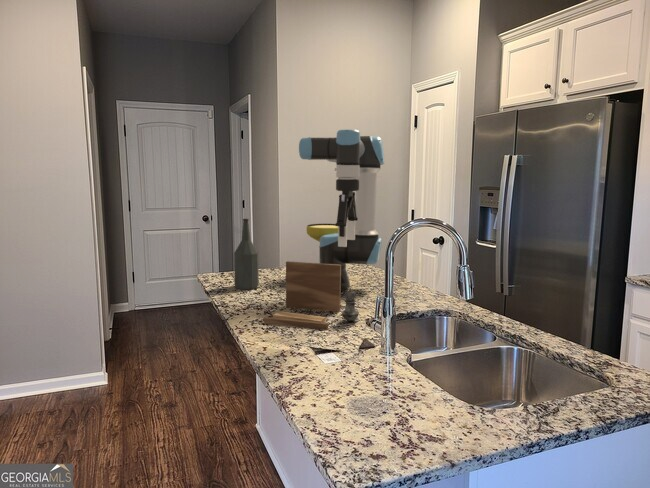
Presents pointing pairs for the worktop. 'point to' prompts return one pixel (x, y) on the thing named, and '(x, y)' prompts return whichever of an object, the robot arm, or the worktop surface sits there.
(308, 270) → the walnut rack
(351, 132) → the robot arm
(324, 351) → the chocolate bar
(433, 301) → the worktop surface
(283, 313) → the upper offcut
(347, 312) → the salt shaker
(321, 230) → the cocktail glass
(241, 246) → the bottle
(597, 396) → the worktop surface
